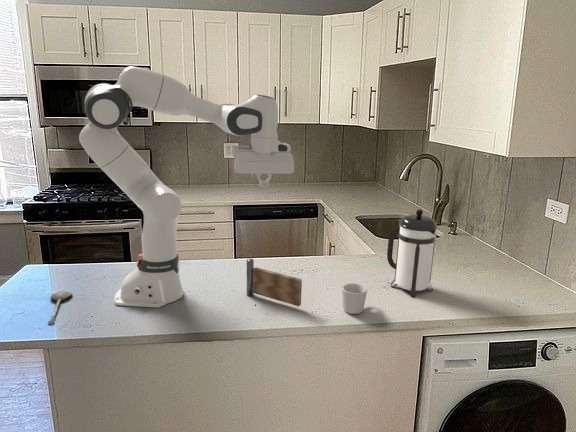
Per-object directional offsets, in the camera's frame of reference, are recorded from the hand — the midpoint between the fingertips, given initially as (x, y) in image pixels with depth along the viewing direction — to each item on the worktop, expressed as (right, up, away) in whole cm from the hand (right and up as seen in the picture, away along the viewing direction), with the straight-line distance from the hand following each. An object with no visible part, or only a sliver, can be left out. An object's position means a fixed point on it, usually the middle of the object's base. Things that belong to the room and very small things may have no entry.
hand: (264, 186), depth 149 cm
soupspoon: (-66, -40, -9) cm, 78 cm away
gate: (+4, -38, -3) cm, 38 cm away
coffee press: (+52, -37, +12) cm, 65 cm away
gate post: (-5, -38, +3) cm, 38 cm away
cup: (+30, -41, -6) cm, 51 cm away
